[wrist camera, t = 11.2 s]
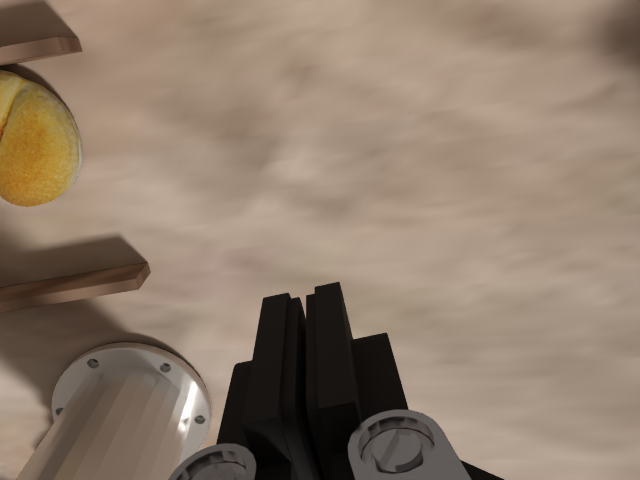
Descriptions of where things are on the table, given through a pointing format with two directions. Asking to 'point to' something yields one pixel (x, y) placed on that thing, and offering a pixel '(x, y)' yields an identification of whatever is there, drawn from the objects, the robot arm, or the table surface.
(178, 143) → the table surface
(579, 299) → the table surface
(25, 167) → the bread roll
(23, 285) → the walnut open-ended frame
